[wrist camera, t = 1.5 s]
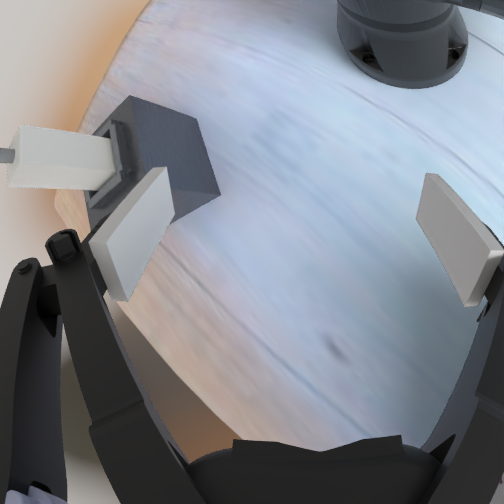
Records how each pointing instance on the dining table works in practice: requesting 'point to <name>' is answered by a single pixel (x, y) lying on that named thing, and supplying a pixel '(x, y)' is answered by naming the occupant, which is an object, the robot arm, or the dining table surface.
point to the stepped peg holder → (153, 157)
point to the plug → (58, 159)
